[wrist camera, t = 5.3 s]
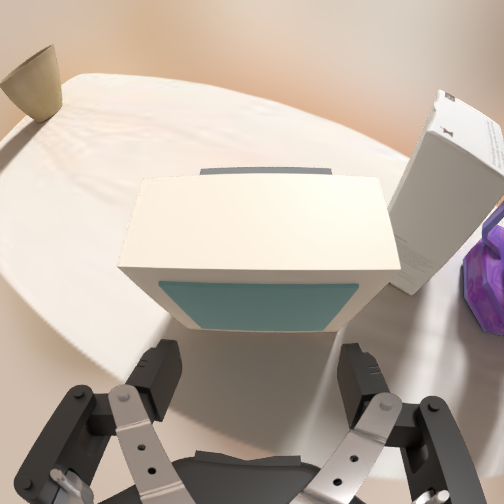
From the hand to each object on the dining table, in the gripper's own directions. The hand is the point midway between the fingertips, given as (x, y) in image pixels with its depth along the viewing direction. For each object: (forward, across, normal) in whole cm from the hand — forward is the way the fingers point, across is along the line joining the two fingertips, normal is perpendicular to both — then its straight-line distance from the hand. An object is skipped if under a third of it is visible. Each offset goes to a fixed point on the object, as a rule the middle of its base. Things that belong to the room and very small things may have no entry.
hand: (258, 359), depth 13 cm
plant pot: (+39, +50, -27) cm, 69 cm away
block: (+10, 0, +2) cm, 10 cm away
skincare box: (+13, -13, -2) cm, 19 cm away
